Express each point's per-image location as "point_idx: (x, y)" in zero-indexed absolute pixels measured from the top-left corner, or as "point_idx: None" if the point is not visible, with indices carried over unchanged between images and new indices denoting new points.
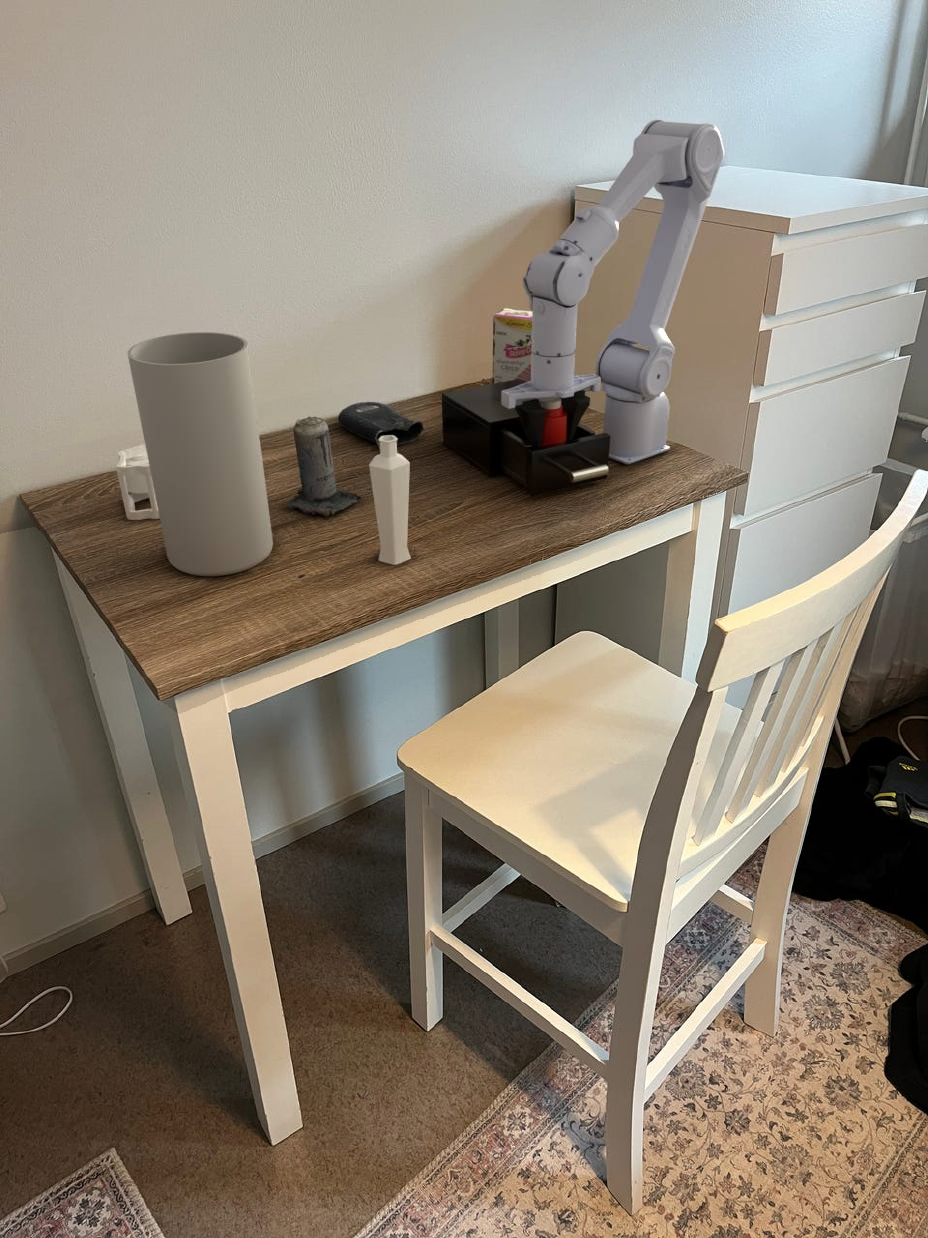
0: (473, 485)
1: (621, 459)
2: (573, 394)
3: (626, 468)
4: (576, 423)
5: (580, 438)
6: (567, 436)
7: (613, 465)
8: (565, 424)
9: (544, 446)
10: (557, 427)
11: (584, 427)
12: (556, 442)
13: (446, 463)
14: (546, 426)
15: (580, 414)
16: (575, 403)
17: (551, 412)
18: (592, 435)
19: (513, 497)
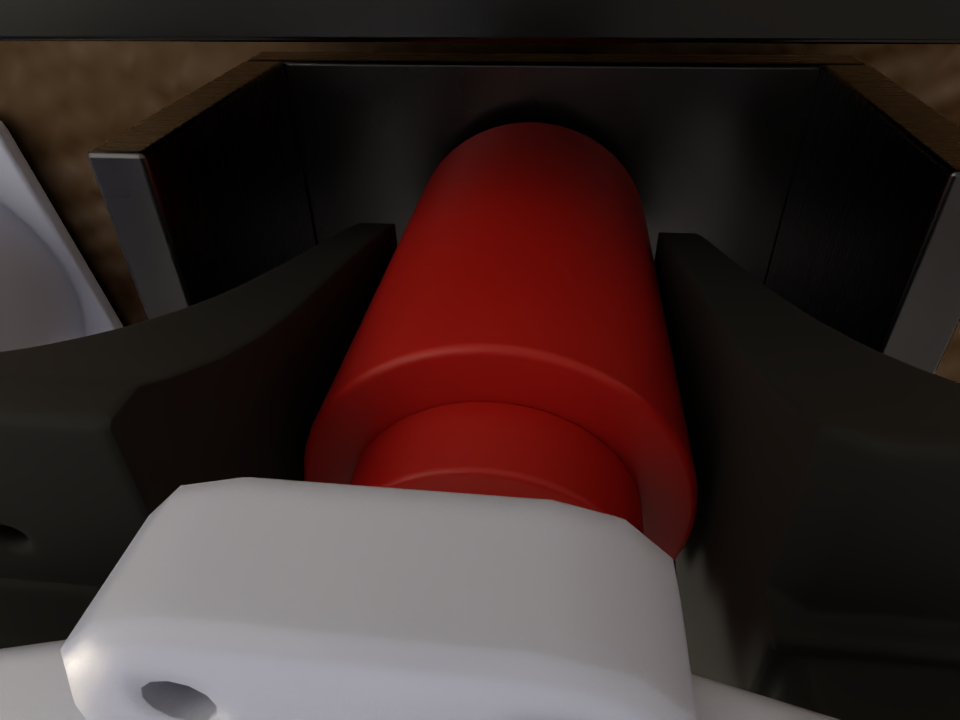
0: (957, 329)
1: (12, 168)
2: (155, 520)
3: (12, 80)
4: (247, 296)
5: (332, 23)
6: (365, 277)
7: (82, 160)
8: (395, 308)
9: (926, 9)
10: (534, 282)
11: (161, 300)
12: (546, 203)
13: None
14: (653, 349)
15: (155, 333)
16: (160, 448)
17: (577, 470)
18: (138, 138)
19: (928, 52)
